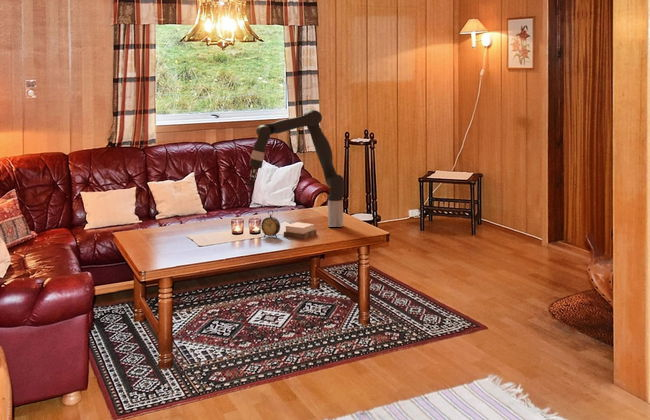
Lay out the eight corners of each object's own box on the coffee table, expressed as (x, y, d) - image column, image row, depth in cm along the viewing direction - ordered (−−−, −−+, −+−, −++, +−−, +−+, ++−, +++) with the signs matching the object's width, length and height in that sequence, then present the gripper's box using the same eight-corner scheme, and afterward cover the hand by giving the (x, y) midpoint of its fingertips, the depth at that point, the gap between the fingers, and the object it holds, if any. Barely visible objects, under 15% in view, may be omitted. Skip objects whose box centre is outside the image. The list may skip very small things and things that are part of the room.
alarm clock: (261, 237, 419) (260, 209, 416) (266, 235, 424) (265, 208, 420) (276, 238, 414) (276, 211, 411) (281, 236, 419) (281, 209, 415)
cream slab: (297, 227, 429) (297, 222, 428) (314, 229, 423) (313, 224, 422) (285, 231, 419) (285, 225, 418) (303, 233, 413) (303, 228, 412)
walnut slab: (296, 233, 431) (296, 227, 430) (316, 235, 424) (316, 229, 423) (283, 237, 419) (283, 231, 419) (303, 240, 412) (303, 234, 412)
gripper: (263, 161, 410) (256, 188, 411) (263, 159, 424) (257, 186, 425) (250, 158, 409) (244, 185, 410) (250, 156, 423) (244, 183, 424)
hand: (250, 185), depth 418 cm, fingers open, 8 cm apart
